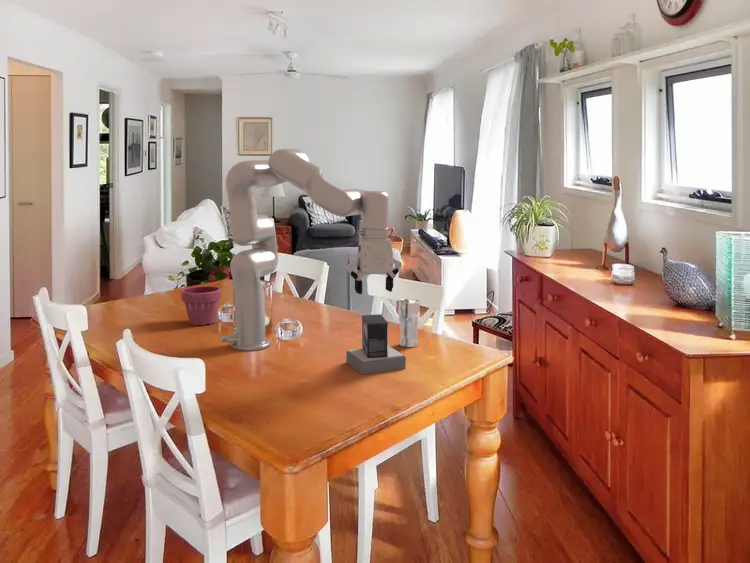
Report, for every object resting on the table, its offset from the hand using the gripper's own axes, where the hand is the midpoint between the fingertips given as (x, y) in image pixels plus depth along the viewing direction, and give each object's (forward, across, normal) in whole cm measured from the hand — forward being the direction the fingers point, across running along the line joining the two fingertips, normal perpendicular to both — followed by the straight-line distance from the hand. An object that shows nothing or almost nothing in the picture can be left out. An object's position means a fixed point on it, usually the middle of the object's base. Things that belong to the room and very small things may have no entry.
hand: (374, 292), depth 195 cm
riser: (+22, 0, -1) cm, 22 cm away
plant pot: (+23, -38, +70) cm, 83 cm away
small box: (+19, 0, -1) cm, 19 cm away
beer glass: (+23, +19, +14) cm, 33 cm away
